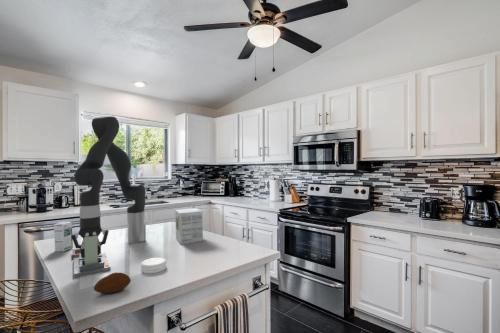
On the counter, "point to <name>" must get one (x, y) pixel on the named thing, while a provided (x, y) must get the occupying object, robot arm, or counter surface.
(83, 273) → the rack
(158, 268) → the coaster
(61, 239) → the syrup box
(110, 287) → the potato
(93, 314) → the counter surface
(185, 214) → the supplement box
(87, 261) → the peg
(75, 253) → the bracket
